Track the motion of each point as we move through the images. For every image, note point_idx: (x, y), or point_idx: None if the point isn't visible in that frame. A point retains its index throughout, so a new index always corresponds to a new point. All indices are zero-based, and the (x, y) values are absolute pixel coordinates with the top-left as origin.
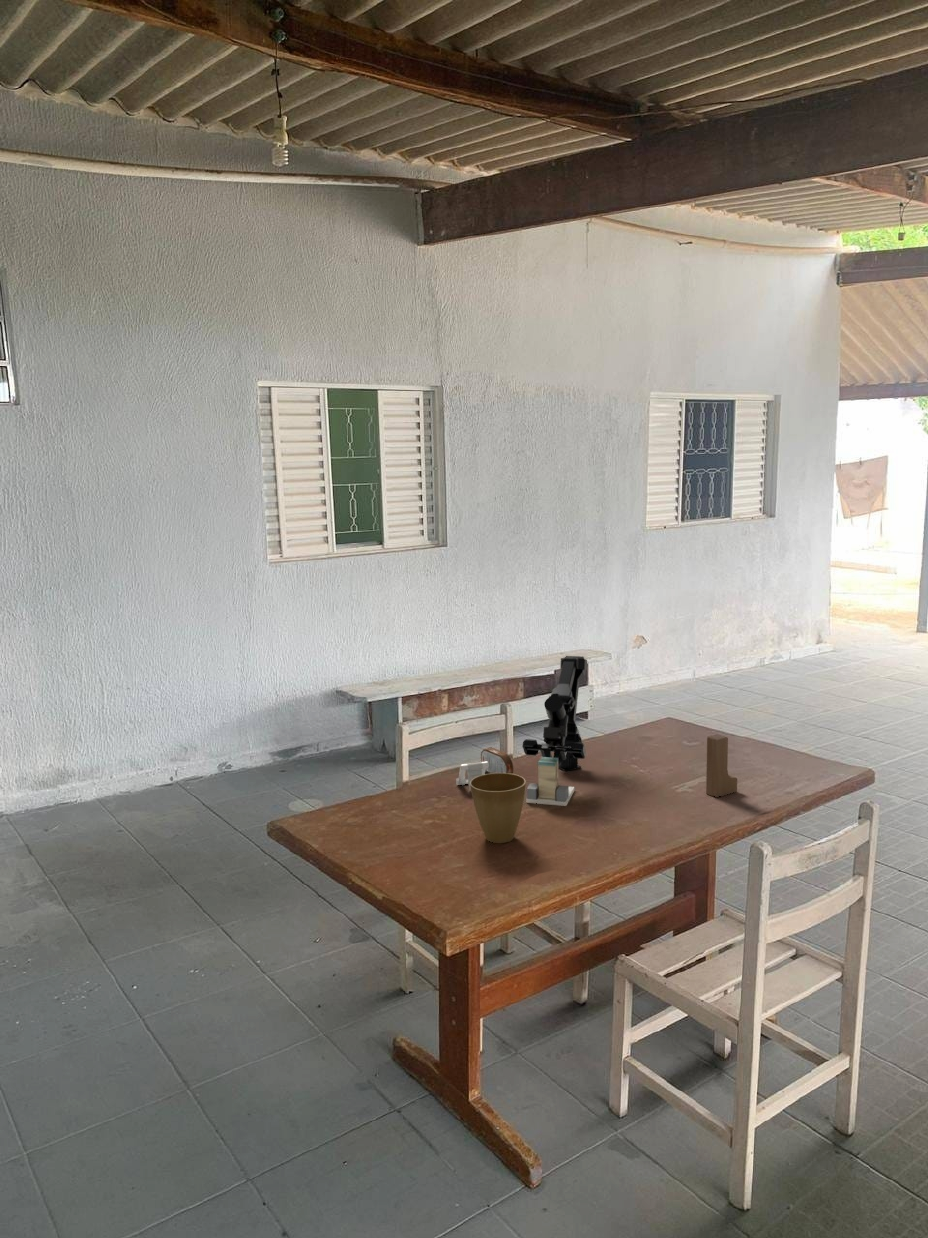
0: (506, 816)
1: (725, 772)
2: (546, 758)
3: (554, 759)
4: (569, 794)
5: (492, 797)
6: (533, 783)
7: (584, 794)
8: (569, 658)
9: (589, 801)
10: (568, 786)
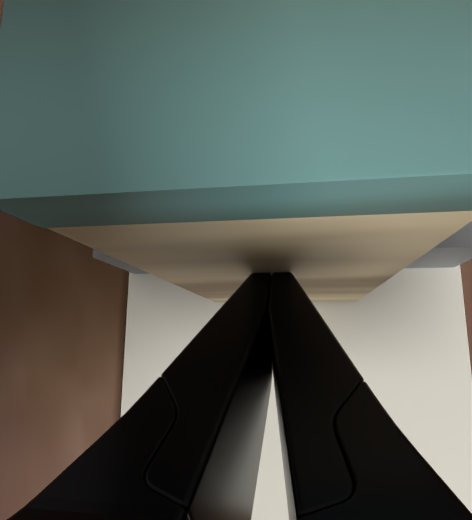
0: None
1: None
2: (317, 41)
3: (66, 35)
4: (132, 315)
5: None
6: (460, 244)
7: (50, 429)
8: None
9: (12, 290)
10: (94, 254)
